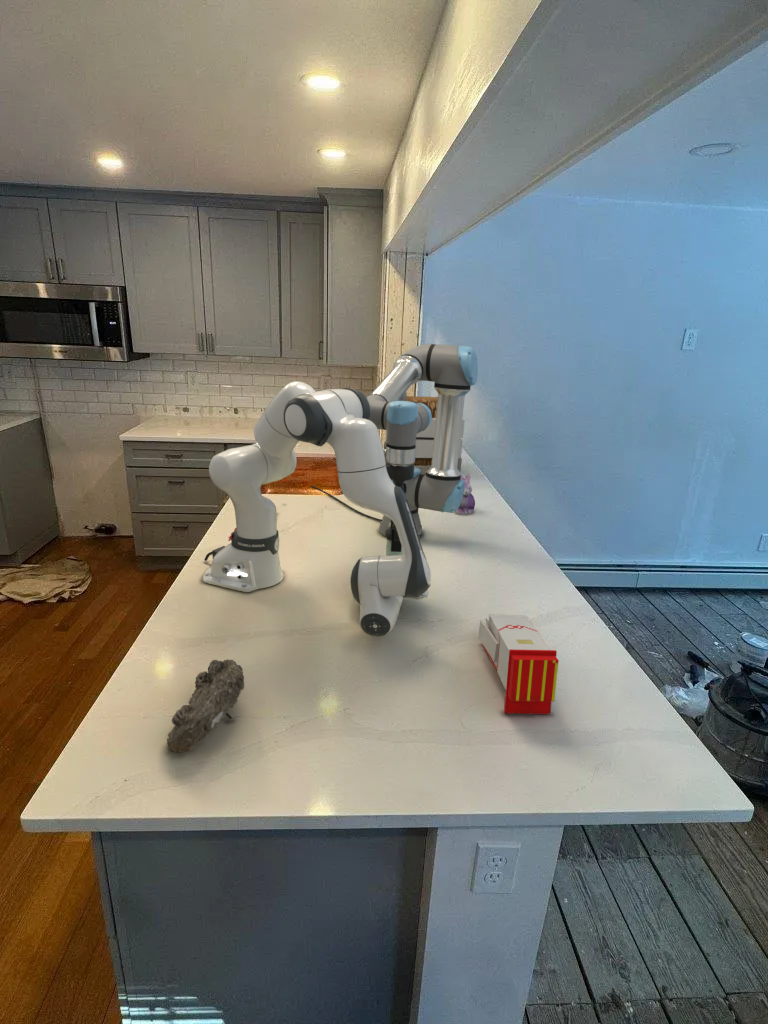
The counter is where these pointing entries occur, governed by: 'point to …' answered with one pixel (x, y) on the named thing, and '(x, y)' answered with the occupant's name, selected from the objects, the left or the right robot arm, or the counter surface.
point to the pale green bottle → (388, 549)
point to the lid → (388, 534)
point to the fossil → (206, 705)
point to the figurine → (466, 498)
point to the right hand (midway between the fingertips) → (395, 544)
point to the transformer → (427, 434)
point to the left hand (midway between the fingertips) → (394, 570)
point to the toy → (521, 662)
